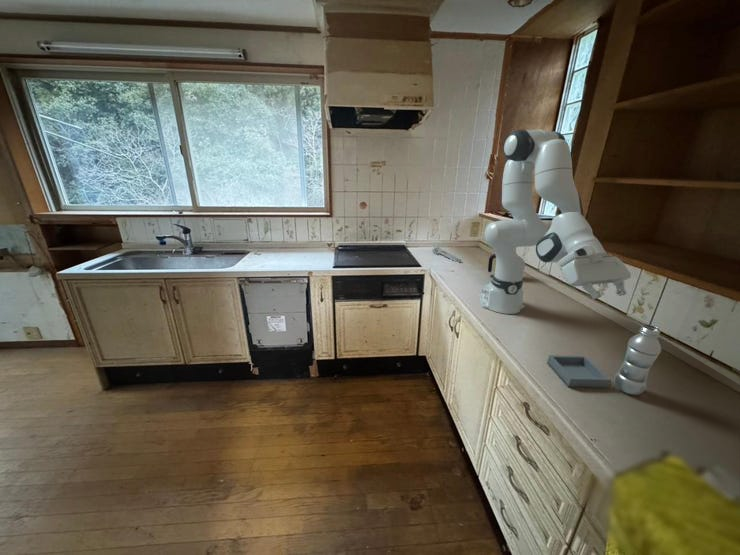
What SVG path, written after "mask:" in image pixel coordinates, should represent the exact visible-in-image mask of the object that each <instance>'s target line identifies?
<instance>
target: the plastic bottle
mask: <svg viewBox="0 0 740 555" xmlns="http://www.w3.org/2000/svg"><path fill="white" fill-rule="evenodd" d="M660 334H661V329H660V328H659V327H657V326H654V325H652V324H647V323H644V324H642V325H641V326H640V328H639V330H638V333H637V334H635V335H633V336H631V337H630V338H629V340H628V342H627V347H626V353H625V357H624V360H623V362H622V364H621V366H620V368H619V370H618V371H617V372H616V374H615V375H614V379H613V380H614V381H613V383H614V384H615V386H616V387H617V389H619V390H620V391H622V392H623V393H625V394H628V395H633V396H638V395H641V394H643V393H644V391H645V390H646V386H647V379H648V376H649V372H650V369H651V367H652V366H653V364H654V363H655V361H656V359H657V358H658V357H659V355H660V354H661V352H662V345H661V344H660V342H659V339H658V338H659V337H660Z"/></svg>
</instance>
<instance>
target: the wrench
mask: <svg viewBox="0 0 740 555" xmlns="http://www.w3.org/2000/svg"><path fill="white" fill-rule="evenodd" d="M430 246H433V248H432V249H431V248H430V249H431V251H432V253H433V254H434V255H438V254H441V255H443V256H445V258H448V259H451V260H452V261H453V262H456V263H458V264H459V263H461V262H462V259H461V258H460V257H458V256H456V255H455V254H452V253H450V252H448V251H446V250H445V249H442V248H441V247H440V246H439V244H438V243H437V241H436V242H435V241H433V242H431V243H430Z"/></svg>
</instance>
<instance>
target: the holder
mask: <svg viewBox="0 0 740 555" xmlns="http://www.w3.org/2000/svg"><path fill="white" fill-rule="evenodd" d="M546 364H547V365H548V366H549V368H550V369H551V371H553V372H554V373H555V374H556V376H557V377H558V378H559V379H560V380H561V381H562V382H563V383H564V384H565V386H566V387H567V388H574V389H578V388H580V389H582V388H583V389H608V388H609V386H610V383H611V378H609V377H608V376H607V375H606V374H605V373H604V372H603V371H602V369H600V368H599V367H597V366H596V365H595V364H594V363H593V362H592V361H591V360H590V359H589V358H587V357H586V356H585V355H552V354H551V355H550V354H549V355H548V358H547V361H546Z"/></svg>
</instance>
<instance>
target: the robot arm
mask: <svg viewBox="0 0 740 555" xmlns="http://www.w3.org/2000/svg"><path fill="white" fill-rule="evenodd" d="M502 151H503V155H504V157H505V158H506V159H507V161H506V163H505V164H504V168H503V172H502V173H503V175H502V184H501V205H502V207H503V209H505V210H507V211H508V212H510V213H511V216H512V218H513V219H501V220H497V221H492V222H490V223H488V225H487V226H486V228H485V229H484V235H483V236H484V240H485V242H486V243H487V245H489V247H490V248H492V250H493V252H494V254H495V255H496V258H495V270H494V274H492V275H494V276H493V278H491V281H490V282H488V283H487V284H484V287H483V288H481V292H478V293H477V297H478V299H479V303H480V306H481V307H482V308H485V309H487V310H491V311H493V312H496V313H500V314H506V315H513V314H518V313H520V312H521V310H523V309H525V304H523V301H524V300H523V299H524V290H523V289H522V288H523V284H524V279H523V278H524V272H525V268H526V262H525V260H524V259H523V258H522V257H521V256H519V255H518V254H517V248H520V247H522V248H523V247H526V248H527V247H533V246H534V247H535V253H536V256H537V258H538V259H539V260H540V261H541V262H542V263H557V264H558V266H559V267H561V271H562V274H563V276H564V278H565V280H566V282H567V283H568V284H569V285H570V286H571V287H572V288H573V287H582V289H583V290H584V291H585V292H586V293H588V294H589V295H590V297H591V298H592V299H593V300H594V299H599V298H601V297H602V293H600V290H597V289H596V288H594V287H593V286H594V285H602V284H611V283H612V284H613V286H615V287H616V290H615V291H614V292H615V293H616V295H617V296H618V297H620V296H625V295H627V294H628V293H627V291H626V289H625V281H626V280H628V279H630V278H631V277H632V276H631V275H632V274H631V272H630V270H629V268H628V267H627V266H626V265H625V264H624V262H623V261H622V260H621V259H620V258H619V257H617V256H614V255H613V254H611V253H607V252H606V250H605V249H604V247H603V246H602V243H601V242H600V241H599V239H598V238H597V237H596V236H595V235H594V234H593V229H592V227H591V225H590V223H589V222H588V221H587V220H586V218H585V216H584V208H583V204H582V199H581V196H580V193H579V191H578V189H577V187H576V184H575V182H574V181H575V180H574V176H573V175H574V174H573V160H572V154H571V149H570V146H569V143H568V142H567V141H566V138H565V136H564V135H563V134H562V133H560V132H558V131H554V130H546V129H518V130H514V131H511V132H510V133H509V134H508V135H507V137H506V138H505V140H504V143H503V150H502ZM533 182H534V183H533ZM533 184H534V186H533ZM534 187H535V191H536V194H537V195H538V196H539V197H540V198H541V199H542V200H545V201H547V202H548V203H551V204H552V205H554V206H556V208H558V209H559V211H560V213H559V214H557V215H556V216H554V217H553V218H552V219H551V220H552V221H551V224H550V227H548V225H547V224H546V223H545V221H543V220H542V219H541V218H540V217H539V215H538V214H537V212H536V209H535V206H534V198H533V197H534V196H533V192H534V190H533V188H534ZM522 308H523V309H522Z"/></svg>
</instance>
